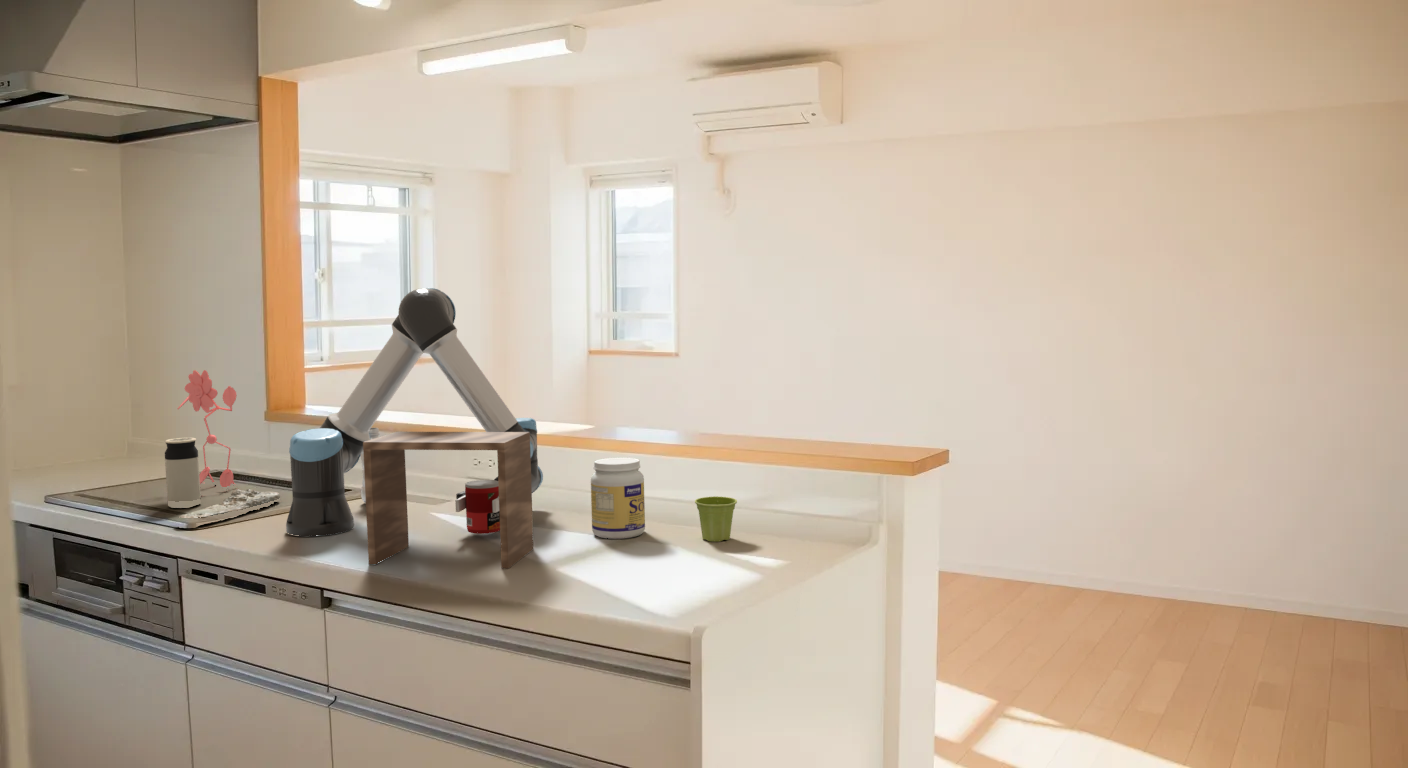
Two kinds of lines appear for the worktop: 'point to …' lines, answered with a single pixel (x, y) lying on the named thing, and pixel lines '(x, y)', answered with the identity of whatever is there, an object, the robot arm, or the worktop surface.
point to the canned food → (482, 506)
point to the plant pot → (716, 517)
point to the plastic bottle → (372, 434)
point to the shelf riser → (389, 450)
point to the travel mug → (182, 470)
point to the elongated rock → (235, 503)
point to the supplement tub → (617, 498)
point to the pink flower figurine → (203, 397)
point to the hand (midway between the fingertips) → (475, 506)
